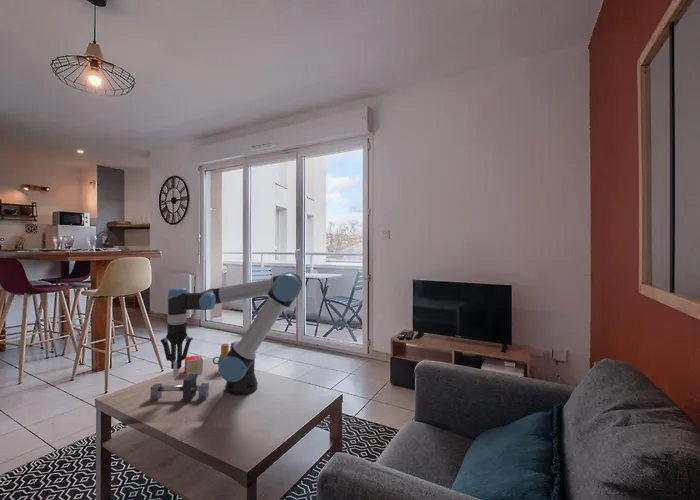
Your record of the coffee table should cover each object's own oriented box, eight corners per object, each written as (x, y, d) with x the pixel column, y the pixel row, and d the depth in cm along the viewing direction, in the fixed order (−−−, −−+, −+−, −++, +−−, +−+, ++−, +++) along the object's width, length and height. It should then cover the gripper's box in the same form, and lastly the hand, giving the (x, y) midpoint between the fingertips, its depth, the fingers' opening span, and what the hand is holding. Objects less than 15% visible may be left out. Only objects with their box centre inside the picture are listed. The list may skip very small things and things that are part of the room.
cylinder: (226, 376, 176) (227, 348, 176) (208, 374, 178) (210, 346, 178) (238, 368, 188) (239, 342, 188) (222, 366, 190) (223, 340, 190)
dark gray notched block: (195, 394, 150) (196, 373, 150) (189, 402, 143) (190, 380, 143) (188, 394, 150) (189, 373, 150) (182, 402, 142) (183, 380, 142)
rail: (209, 397, 151) (209, 381, 151) (204, 405, 144) (204, 388, 144) (155, 398, 148) (156, 382, 148) (148, 406, 141) (149, 389, 141)
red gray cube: (186, 376, 174) (186, 361, 174) (184, 371, 181) (184, 357, 181) (202, 373, 179) (203, 359, 179) (200, 369, 185) (200, 355, 185)
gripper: (195, 320, 151) (194, 372, 151) (165, 321, 149) (164, 373, 149) (189, 324, 143) (188, 378, 143) (157, 325, 142) (156, 379, 142)
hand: (176, 375), depth 146 cm, fingers closed
